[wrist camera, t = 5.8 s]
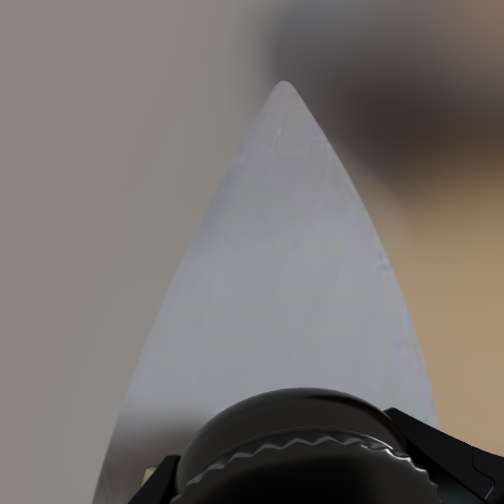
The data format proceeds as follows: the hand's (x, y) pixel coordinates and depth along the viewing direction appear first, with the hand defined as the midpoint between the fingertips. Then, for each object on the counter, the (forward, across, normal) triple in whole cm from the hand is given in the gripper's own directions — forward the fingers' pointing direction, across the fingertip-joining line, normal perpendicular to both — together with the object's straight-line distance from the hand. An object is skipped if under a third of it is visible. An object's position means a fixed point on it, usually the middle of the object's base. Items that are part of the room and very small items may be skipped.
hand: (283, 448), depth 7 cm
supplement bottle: (+4, 0, +6) cm, 7 cm away
